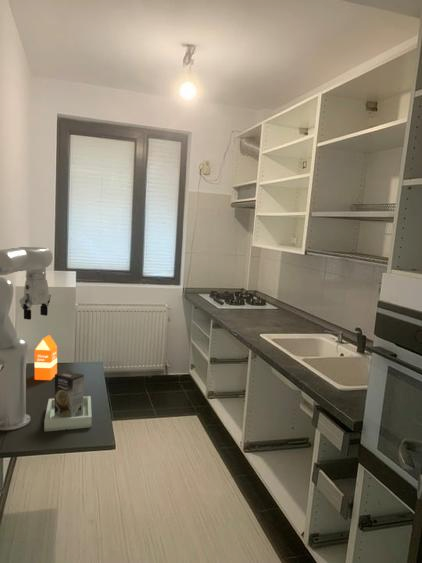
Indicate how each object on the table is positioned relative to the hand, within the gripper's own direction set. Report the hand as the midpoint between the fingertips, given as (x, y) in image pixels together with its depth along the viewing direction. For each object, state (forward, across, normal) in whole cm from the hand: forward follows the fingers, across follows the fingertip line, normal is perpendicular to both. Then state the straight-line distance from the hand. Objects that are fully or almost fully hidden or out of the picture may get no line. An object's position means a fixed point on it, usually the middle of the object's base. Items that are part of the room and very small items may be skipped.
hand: (35, 317), depth 171 cm
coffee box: (+34, -12, -26) cm, 44 cm away
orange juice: (+35, +21, +12) cm, 42 cm away
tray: (+34, -12, -26) cm, 45 cm away
